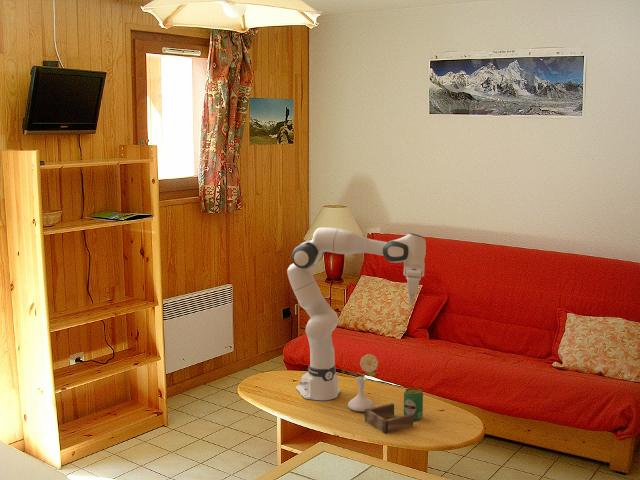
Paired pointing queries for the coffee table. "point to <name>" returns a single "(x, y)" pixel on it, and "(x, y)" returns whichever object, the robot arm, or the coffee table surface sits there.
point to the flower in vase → (361, 400)
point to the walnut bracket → (386, 426)
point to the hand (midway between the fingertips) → (411, 304)
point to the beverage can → (413, 403)
